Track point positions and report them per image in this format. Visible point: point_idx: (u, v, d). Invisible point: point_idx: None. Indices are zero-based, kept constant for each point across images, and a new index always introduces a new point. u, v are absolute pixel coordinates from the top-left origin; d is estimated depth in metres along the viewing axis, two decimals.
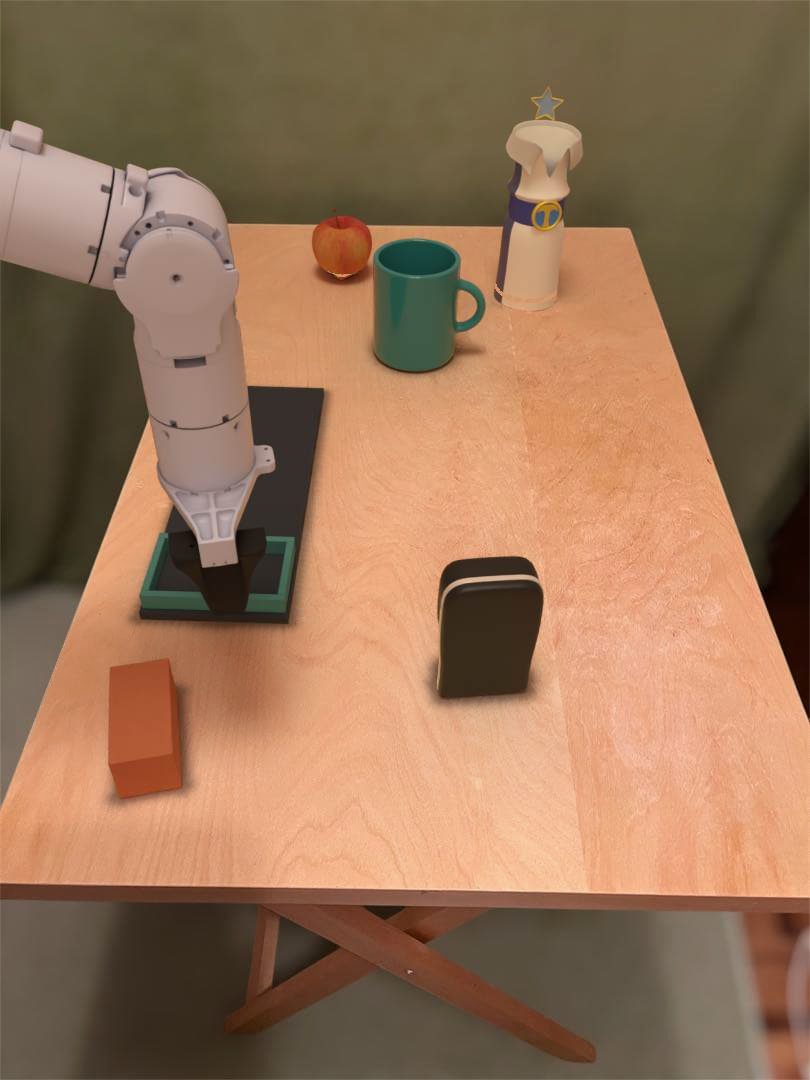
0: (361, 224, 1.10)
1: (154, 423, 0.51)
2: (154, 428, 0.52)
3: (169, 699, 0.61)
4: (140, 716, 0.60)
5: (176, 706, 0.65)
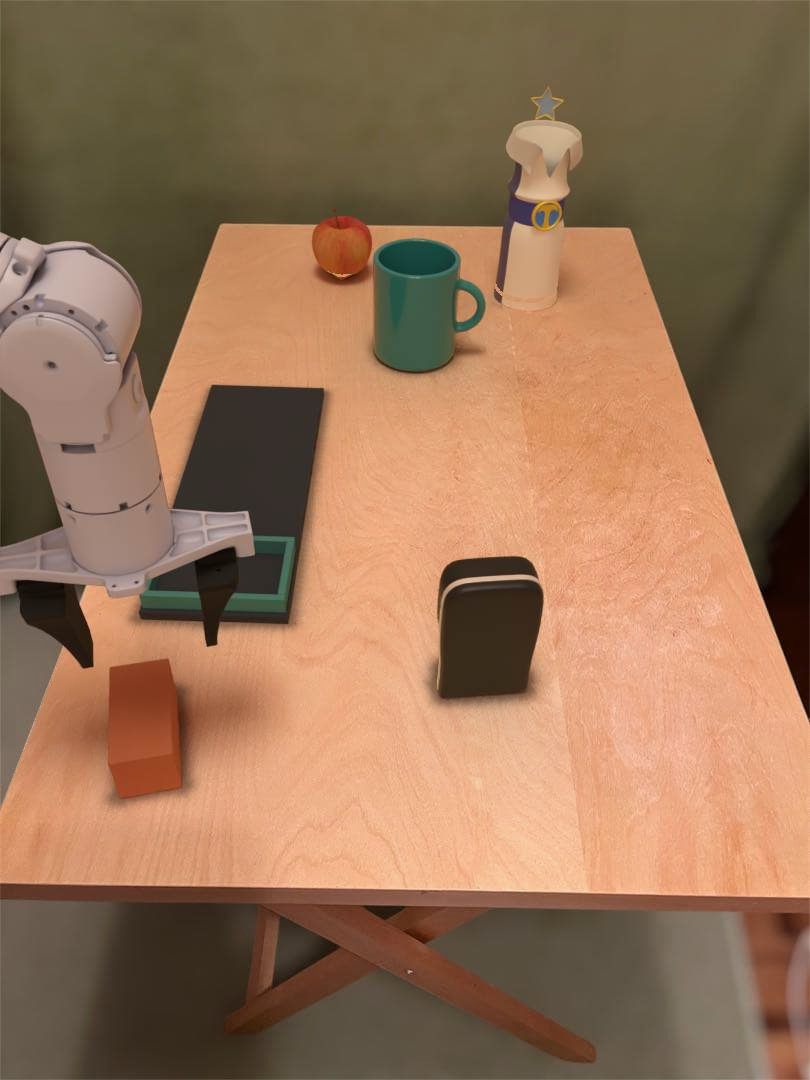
0: (361, 224, 1.10)
1: None
2: None
3: (169, 699, 0.61)
4: (140, 716, 0.60)
5: (176, 706, 0.65)
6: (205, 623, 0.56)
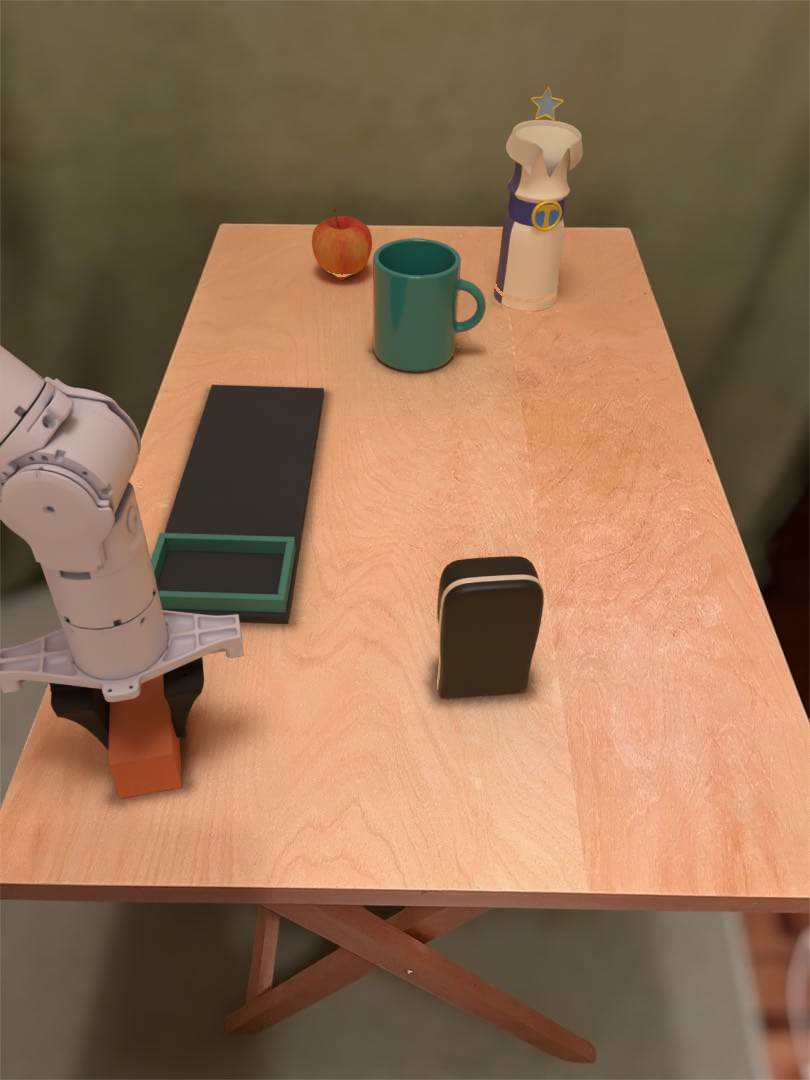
0: (361, 224, 1.10)
1: None
2: None
3: None
4: (140, 716, 0.60)
5: None
6: (173, 719, 0.60)
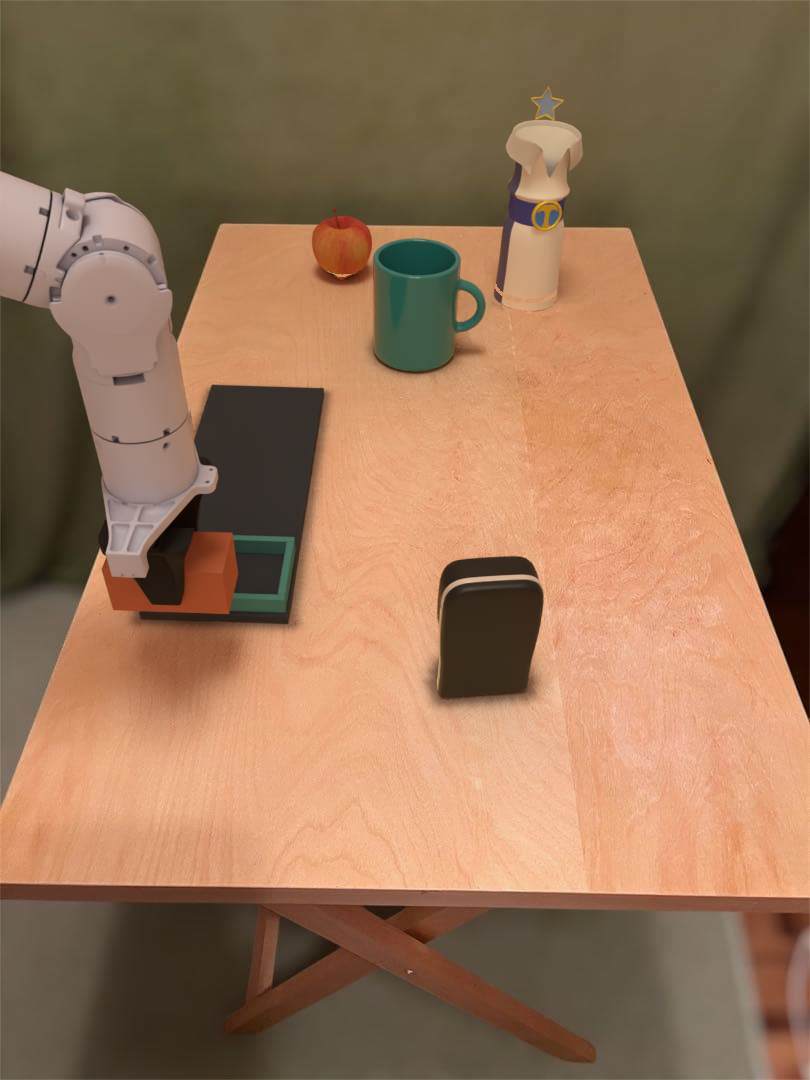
0: (361, 224, 1.10)
1: (91, 431, 0.53)
2: None
3: None
4: None
5: None
6: (196, 527, 0.63)
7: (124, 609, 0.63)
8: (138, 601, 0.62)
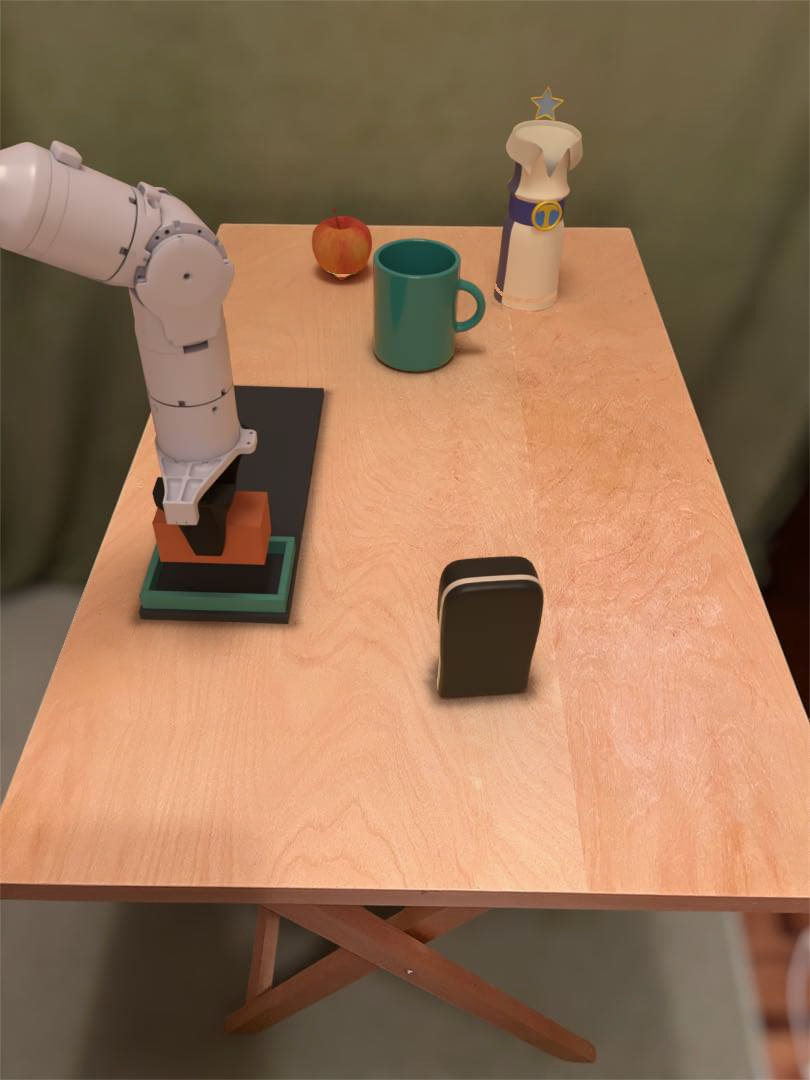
0: (361, 224, 1.10)
1: (148, 397, 0.61)
2: (149, 401, 0.61)
3: None
4: None
5: None
6: None
7: (170, 560, 0.70)
8: (184, 553, 0.69)
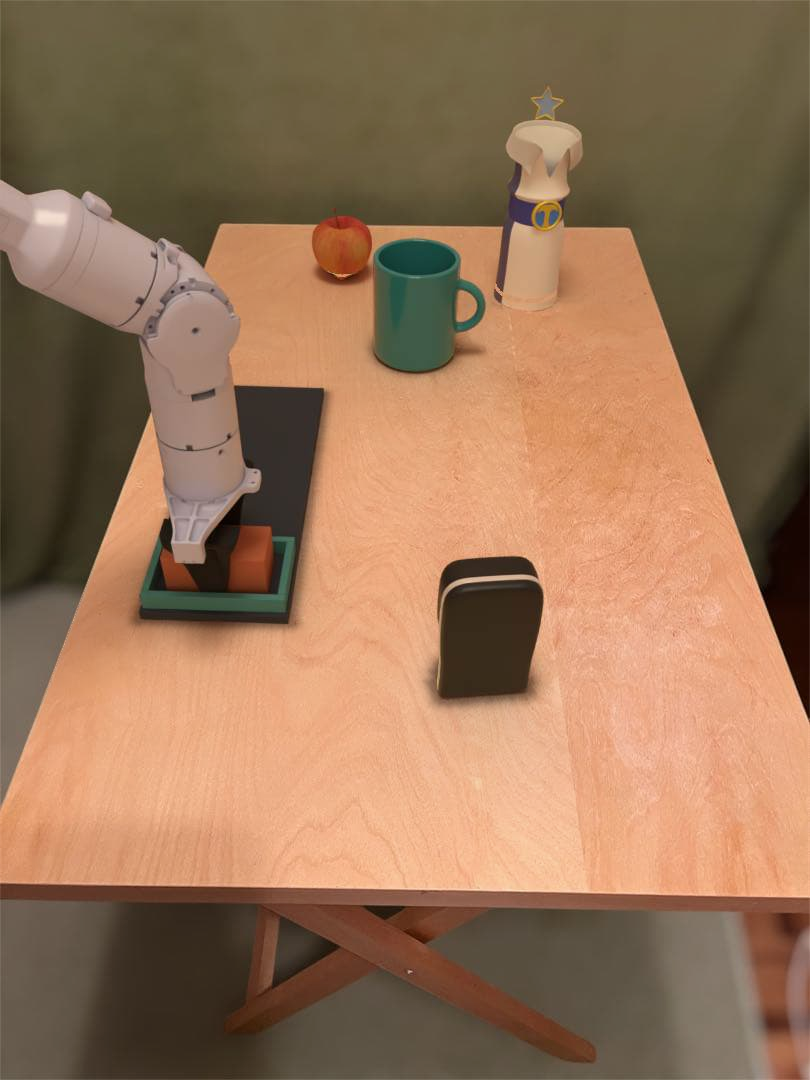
0: (361, 224, 1.10)
1: (157, 440, 0.63)
2: (158, 444, 0.63)
3: None
4: None
5: None
6: (239, 519, 0.73)
7: None
8: (190, 585, 0.72)
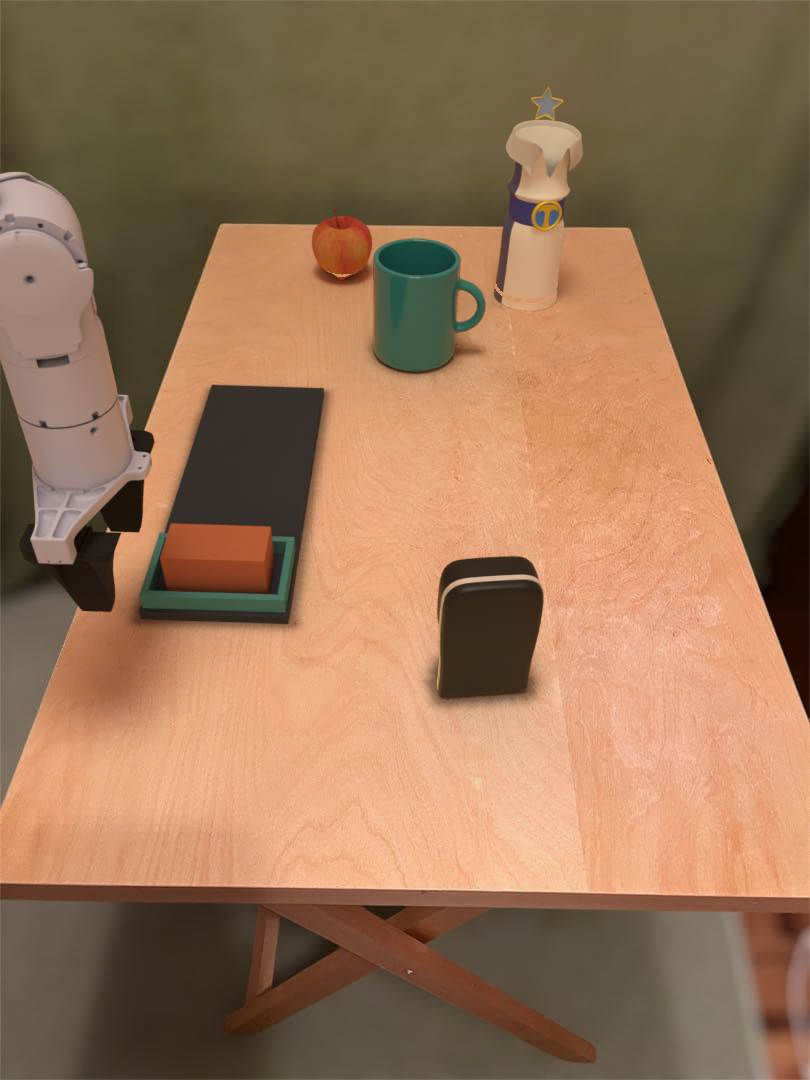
0: (361, 224, 1.10)
1: (18, 416, 0.52)
2: None
3: (216, 525, 0.73)
4: (225, 541, 0.71)
5: None
6: (140, 501, 0.63)
7: None
8: (190, 585, 0.72)
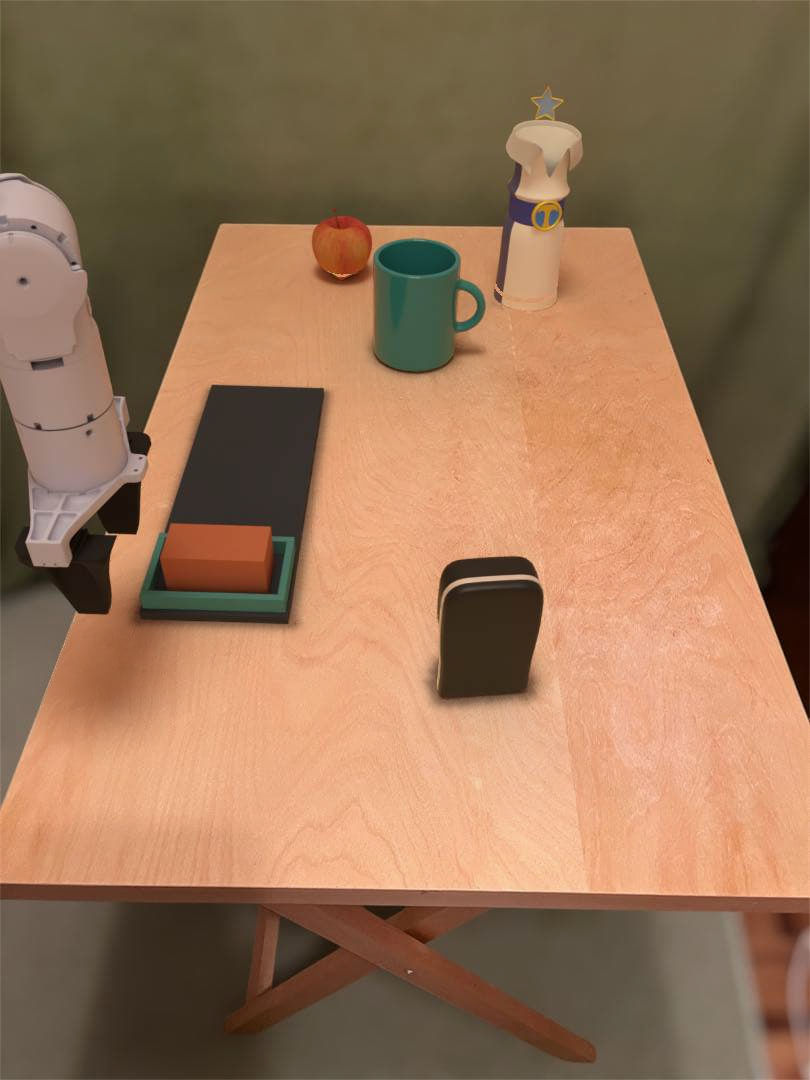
0: (361, 224, 1.10)
1: (13, 418, 0.52)
2: (15, 423, 0.53)
3: (216, 525, 0.73)
4: (225, 541, 0.71)
5: None
6: (137, 503, 0.63)
7: None
8: (190, 585, 0.72)
